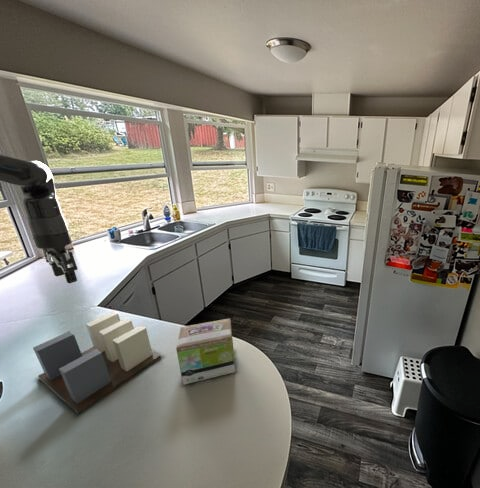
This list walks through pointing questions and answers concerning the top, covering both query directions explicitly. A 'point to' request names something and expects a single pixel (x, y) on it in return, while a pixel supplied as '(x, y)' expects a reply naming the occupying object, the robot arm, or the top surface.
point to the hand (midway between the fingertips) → (66, 278)
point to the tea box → (205, 350)
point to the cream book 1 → (101, 328)
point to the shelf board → (117, 380)
